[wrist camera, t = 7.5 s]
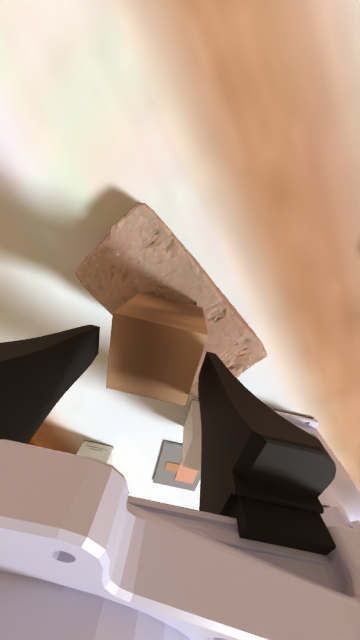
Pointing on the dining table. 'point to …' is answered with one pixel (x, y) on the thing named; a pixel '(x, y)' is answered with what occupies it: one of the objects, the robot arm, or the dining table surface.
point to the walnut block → (156, 348)
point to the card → (175, 468)
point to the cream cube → (192, 438)
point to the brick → (167, 284)
